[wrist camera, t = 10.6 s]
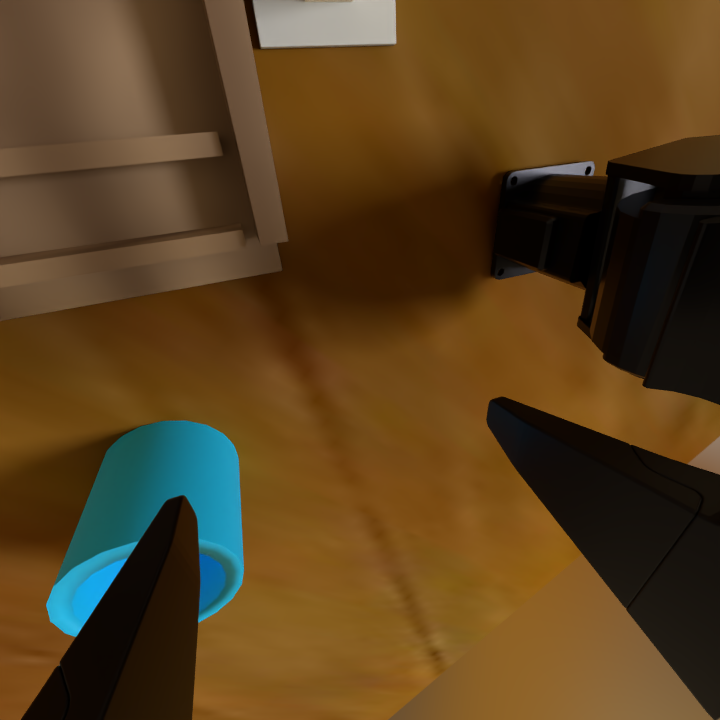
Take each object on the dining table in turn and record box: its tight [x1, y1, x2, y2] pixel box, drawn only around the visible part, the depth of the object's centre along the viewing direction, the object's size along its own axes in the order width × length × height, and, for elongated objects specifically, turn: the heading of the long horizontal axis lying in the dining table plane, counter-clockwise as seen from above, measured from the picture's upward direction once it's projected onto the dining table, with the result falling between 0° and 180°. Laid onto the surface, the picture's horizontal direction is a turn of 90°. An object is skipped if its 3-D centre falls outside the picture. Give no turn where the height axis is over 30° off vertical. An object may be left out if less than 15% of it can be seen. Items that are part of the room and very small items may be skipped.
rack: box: [0, 0, 288, 321], centre depth 11 cm, size 14×18×3 cm
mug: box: [46, 421, 244, 637], centre depth 21 cm, size 12×8×8 cm
